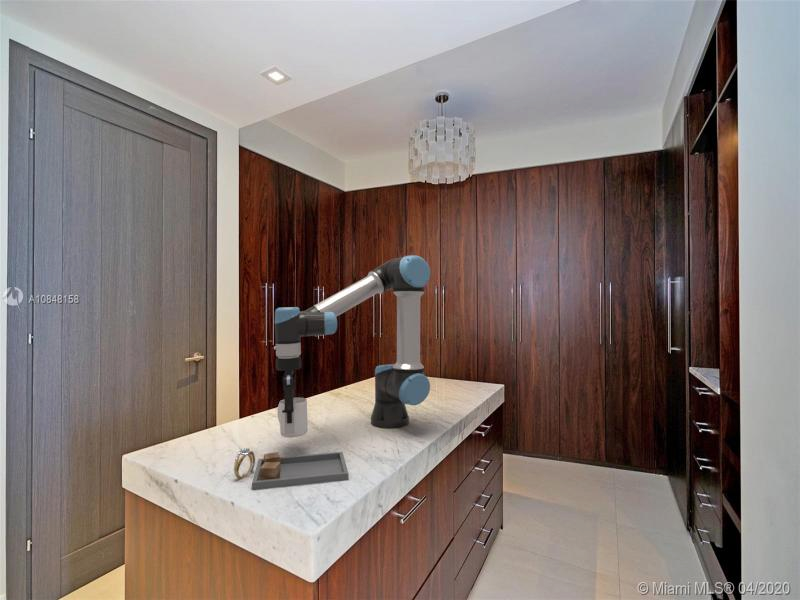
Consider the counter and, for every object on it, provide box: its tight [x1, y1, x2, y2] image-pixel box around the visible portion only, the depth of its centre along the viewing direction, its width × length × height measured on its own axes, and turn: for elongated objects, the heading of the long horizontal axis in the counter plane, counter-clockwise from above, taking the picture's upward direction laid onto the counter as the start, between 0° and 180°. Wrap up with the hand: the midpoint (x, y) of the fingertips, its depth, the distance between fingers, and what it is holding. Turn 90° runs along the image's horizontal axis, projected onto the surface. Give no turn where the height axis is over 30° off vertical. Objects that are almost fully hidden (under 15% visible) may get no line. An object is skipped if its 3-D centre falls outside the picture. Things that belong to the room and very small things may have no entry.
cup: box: [277, 397, 309, 438], centre depth 127 cm, size 8×12×10 cm
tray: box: [251, 451, 349, 491], centre depth 111 cm, size 24×16×2 cm, turn 104°
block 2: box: [260, 462, 280, 480], centre depth 106 cm, size 4×4×4 cm
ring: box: [233, 447, 256, 480], centre depth 108 cm, size 7×3×8 cm, turn 156°
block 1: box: [263, 451, 281, 463], centre depth 112 cm, size 4×4×4 cm
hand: (290, 427), depth 126 cm, fingers closed on cup, 10 cm apart
